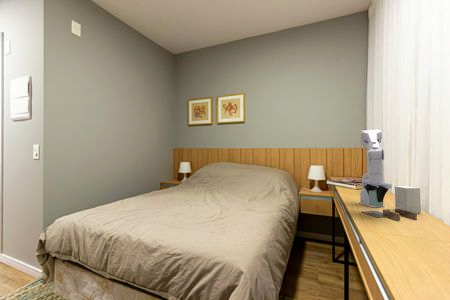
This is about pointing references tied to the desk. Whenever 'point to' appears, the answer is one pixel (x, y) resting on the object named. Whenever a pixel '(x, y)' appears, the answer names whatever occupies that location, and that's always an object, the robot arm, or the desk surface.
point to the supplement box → (407, 198)
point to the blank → (374, 199)
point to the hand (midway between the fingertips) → (376, 200)
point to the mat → (374, 213)
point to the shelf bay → (399, 212)
